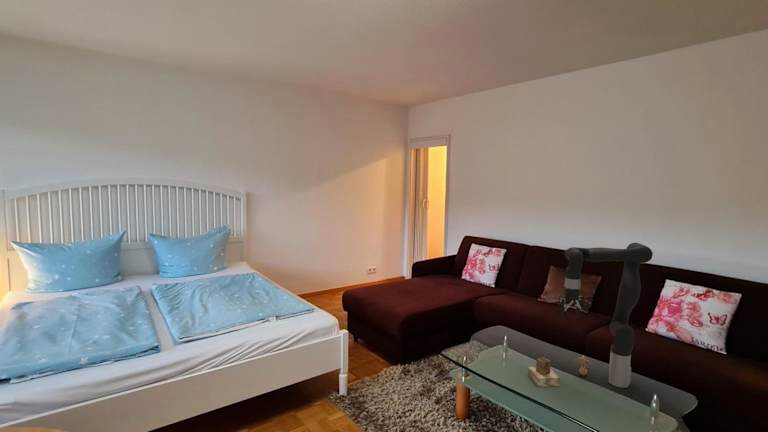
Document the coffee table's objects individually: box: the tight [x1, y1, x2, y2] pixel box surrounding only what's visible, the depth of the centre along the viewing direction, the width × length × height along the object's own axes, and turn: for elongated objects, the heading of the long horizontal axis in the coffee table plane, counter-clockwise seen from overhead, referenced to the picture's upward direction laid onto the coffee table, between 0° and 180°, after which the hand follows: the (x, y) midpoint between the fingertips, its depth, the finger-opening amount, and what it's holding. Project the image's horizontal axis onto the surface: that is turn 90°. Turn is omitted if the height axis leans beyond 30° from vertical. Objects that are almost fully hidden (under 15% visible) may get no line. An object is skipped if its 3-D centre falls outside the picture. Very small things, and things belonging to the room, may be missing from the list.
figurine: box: [574, 354, 593, 376], centre depth 215 cm, size 8×6×12 cm
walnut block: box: [535, 356, 552, 375], centre depth 210 cm, size 5×5×7 cm
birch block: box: [527, 366, 561, 388], centre depth 211 cm, size 12×12×5 cm
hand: (570, 316), depth 206 cm, fingers open, 8 cm apart
